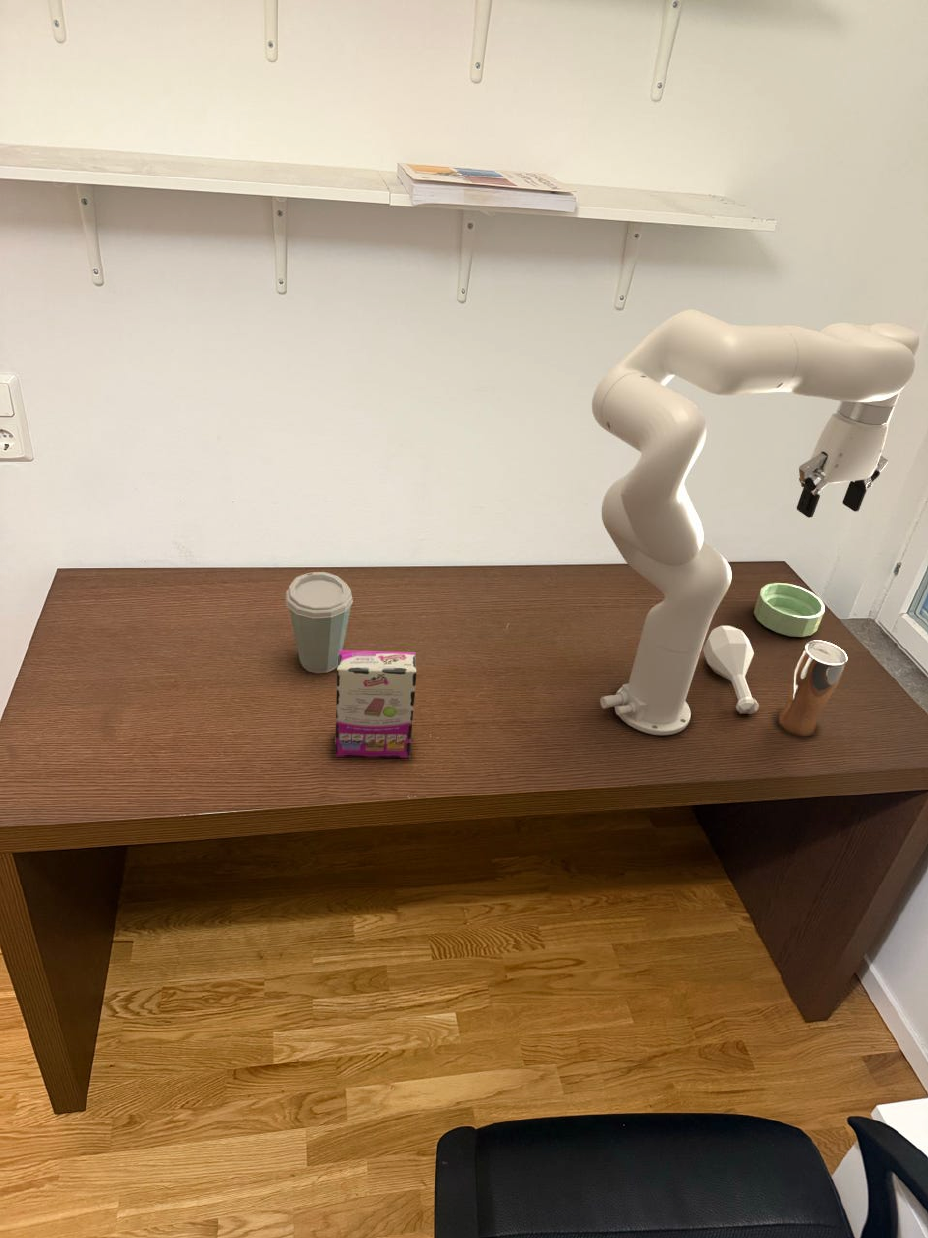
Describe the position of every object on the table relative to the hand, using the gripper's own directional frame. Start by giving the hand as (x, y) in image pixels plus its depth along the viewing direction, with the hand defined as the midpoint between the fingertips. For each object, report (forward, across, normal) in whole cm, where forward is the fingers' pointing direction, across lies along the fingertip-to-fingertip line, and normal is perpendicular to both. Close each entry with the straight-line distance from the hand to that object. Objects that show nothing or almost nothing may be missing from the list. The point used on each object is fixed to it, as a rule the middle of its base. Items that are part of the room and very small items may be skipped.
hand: (827, 510), depth 146 cm
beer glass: (+32, +6, +14) cm, 36 cm away
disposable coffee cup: (+32, +77, -23) cm, 87 cm away
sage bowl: (+32, -14, -12) cm, 37 cm away
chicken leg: (+32, +10, +2) cm, 34 cm away
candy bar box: (+32, +75, -1) cm, 82 cm away
